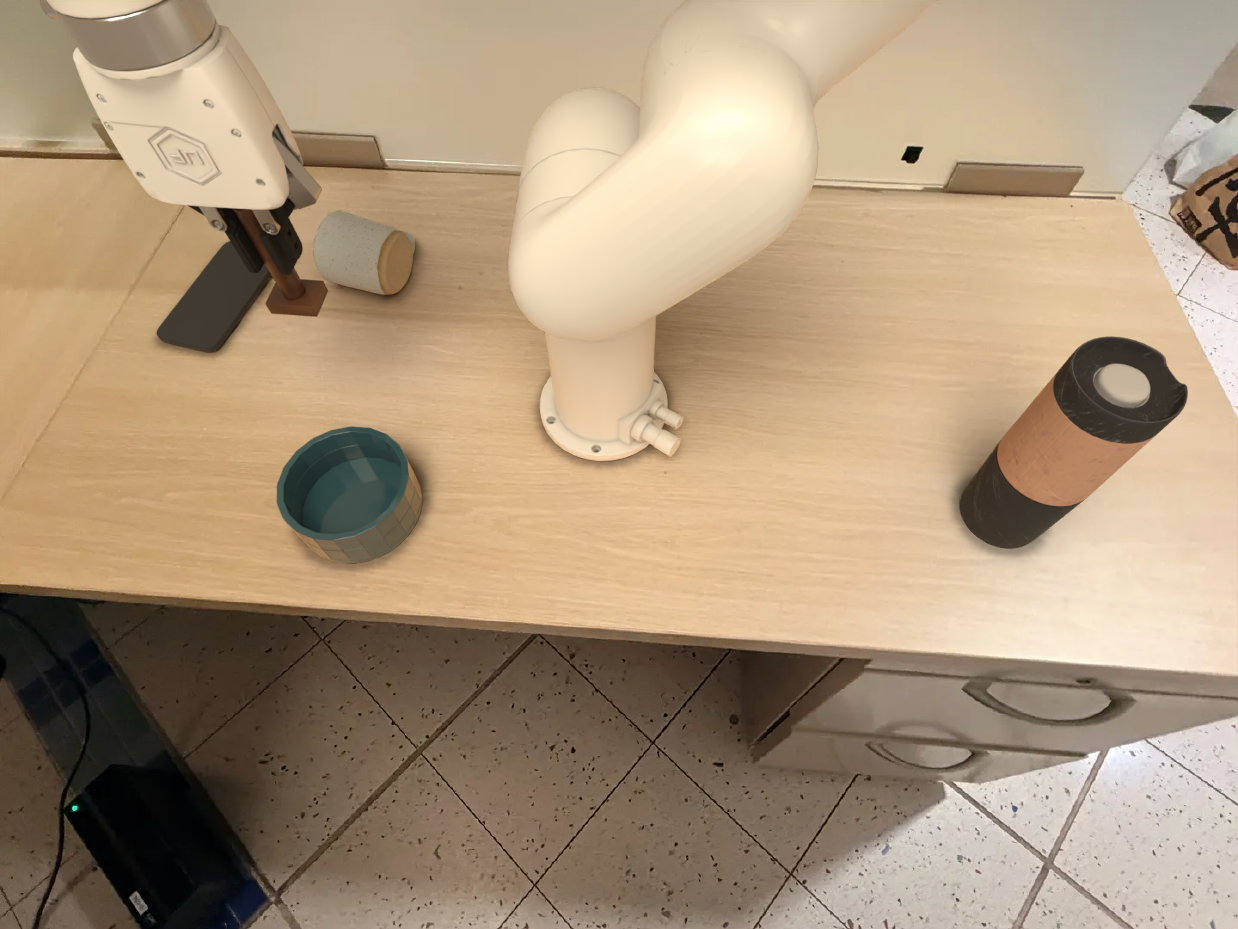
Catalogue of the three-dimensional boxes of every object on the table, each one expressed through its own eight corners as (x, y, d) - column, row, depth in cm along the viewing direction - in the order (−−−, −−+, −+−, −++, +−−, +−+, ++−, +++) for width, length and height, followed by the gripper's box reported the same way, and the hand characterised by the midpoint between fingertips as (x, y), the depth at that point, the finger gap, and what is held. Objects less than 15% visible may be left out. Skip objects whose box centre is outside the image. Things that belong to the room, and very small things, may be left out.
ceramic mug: (394, 311, 79) (374, 257, 73) (327, 296, 81) (301, 241, 74) (435, 246, 85) (419, 191, 78) (371, 233, 86) (350, 177, 80)
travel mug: (943, 524, 66) (1054, 390, 49) (973, 463, 69) (1087, 318, 52) (1027, 567, 64) (1175, 444, 46) (1054, 502, 67) (1202, 364, 50)
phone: (151, 335, 77) (226, 238, 84) (155, 341, 78) (229, 244, 85) (212, 350, 76) (283, 250, 83) (216, 355, 77) (286, 255, 84)
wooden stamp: (328, 290, 62) (277, 190, 53) (317, 317, 60) (263, 218, 52) (283, 287, 62) (225, 186, 53) (271, 313, 61) (209, 214, 52)
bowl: (434, 460, 70) (421, 431, 66) (406, 568, 64) (390, 544, 60) (320, 451, 70) (300, 422, 66) (282, 558, 65) (257, 534, 60)
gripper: (-26, 49, 40) (161, 289, 56) (248, 61, 39) (360, 303, 55) (44, -22, 44) (201, 222, 60) (296, -12, 43) (388, 234, 59)
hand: (276, 259), depth 57 cm, fingers closed on wooden stamp
